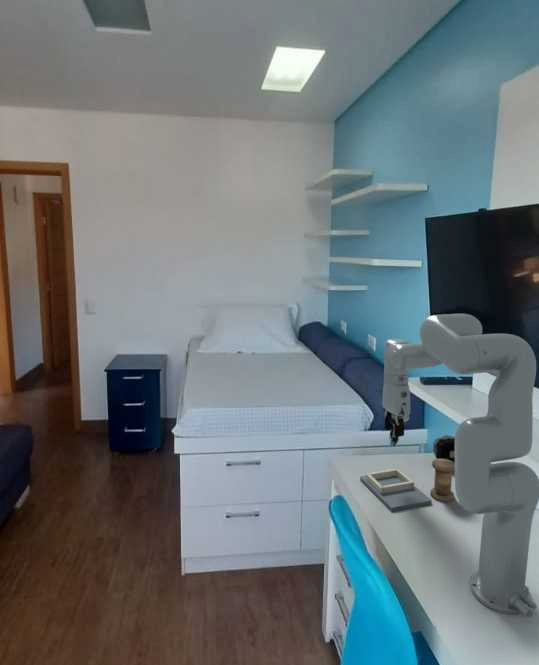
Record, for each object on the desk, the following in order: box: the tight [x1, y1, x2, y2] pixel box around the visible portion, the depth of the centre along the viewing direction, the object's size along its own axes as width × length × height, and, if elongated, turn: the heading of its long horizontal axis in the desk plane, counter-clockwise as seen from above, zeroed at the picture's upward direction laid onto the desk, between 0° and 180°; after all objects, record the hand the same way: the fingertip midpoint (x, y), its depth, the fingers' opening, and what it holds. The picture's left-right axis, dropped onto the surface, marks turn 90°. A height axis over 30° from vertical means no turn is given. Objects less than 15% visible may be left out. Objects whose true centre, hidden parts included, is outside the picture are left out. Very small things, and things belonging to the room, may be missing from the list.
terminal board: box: [359, 468, 432, 512], centre depth 151 cm, size 20×14×3 cm
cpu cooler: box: [432, 434, 455, 463], centre depth 169 cm, size 10×6×10 cm, turn 97°
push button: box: [388, 413, 402, 448], centre depth 151 cm, size 7×5×10 cm
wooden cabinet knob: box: [430, 458, 455, 503], centre depth 147 cm, size 7×7×11 cm
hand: (394, 431), depth 151 cm, fingers closed on push button, 5 cm apart
